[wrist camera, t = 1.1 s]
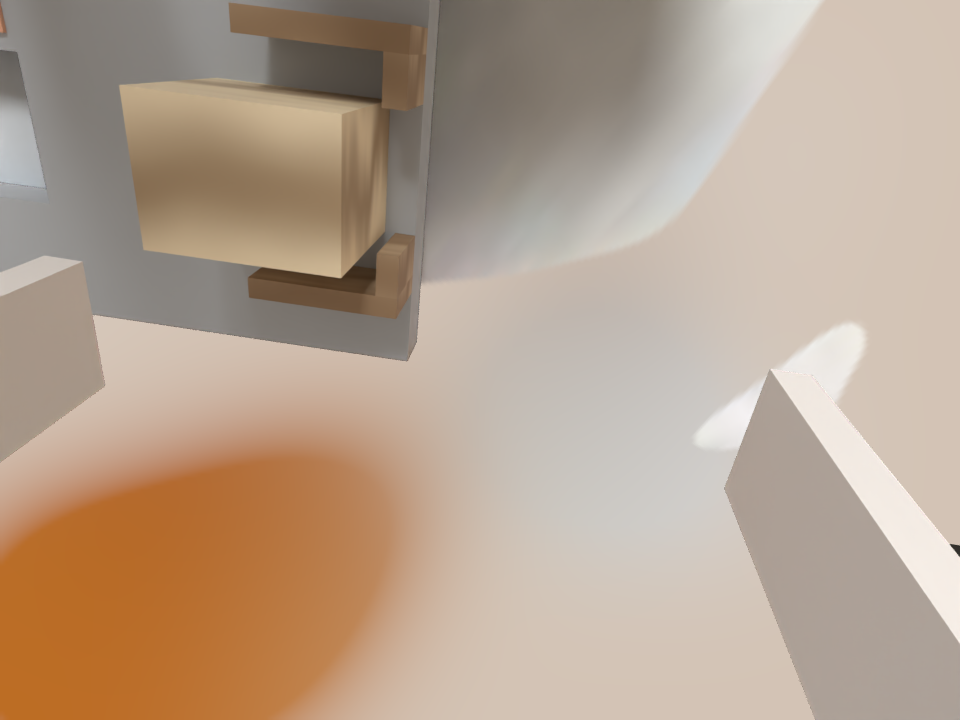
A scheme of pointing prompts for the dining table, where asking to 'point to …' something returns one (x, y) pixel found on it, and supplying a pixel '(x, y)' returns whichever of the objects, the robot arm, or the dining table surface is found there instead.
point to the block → (257, 172)
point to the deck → (108, 175)
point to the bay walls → (400, 91)
